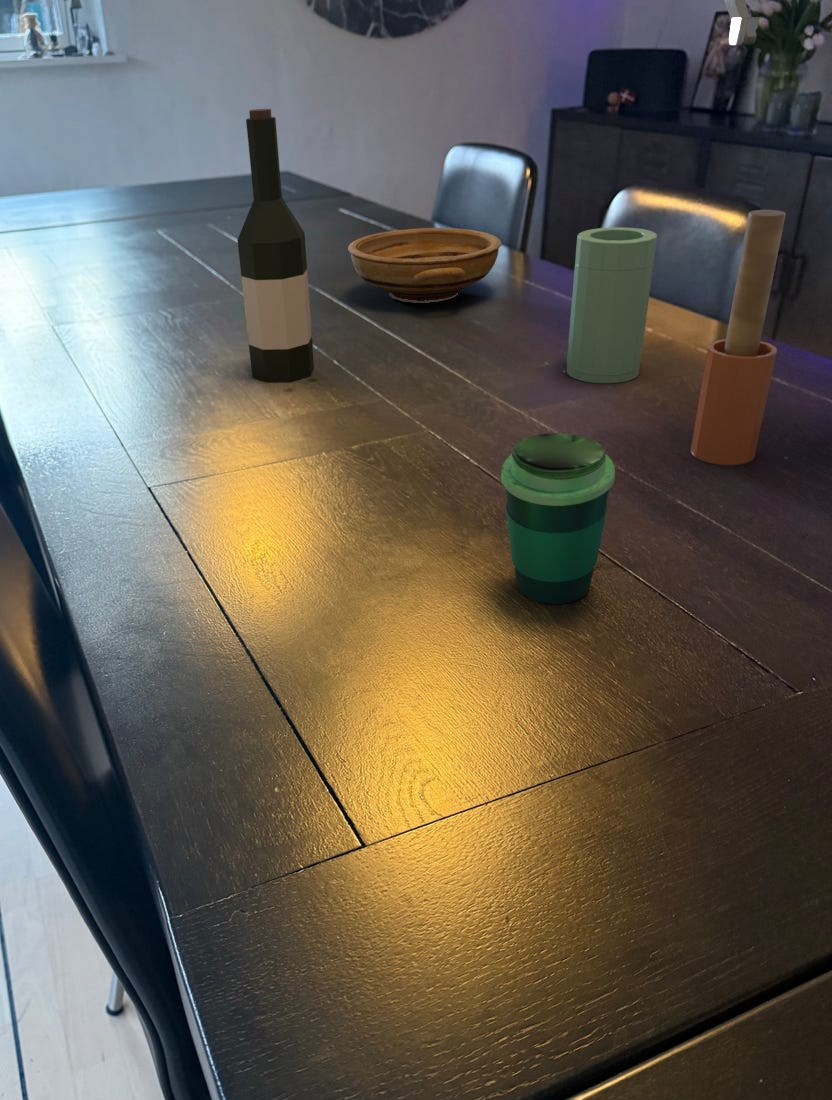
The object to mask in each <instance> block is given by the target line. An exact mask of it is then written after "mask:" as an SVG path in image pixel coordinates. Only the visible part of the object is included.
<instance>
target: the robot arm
mask: <svg viewBox="0 0 832 1100" xmlns="http://www.w3.org/2000/svg"><path fill="white" fill-rule="evenodd" d="M723 1H724V3H725V7H726V10H727V12H728V16H729V18H730V19H731V21H730V27H729V28H730V29H729V35H728V44H729V46H748V45H754V44H755V42H756V39H757V34H758V33H757V32H756V31H757V29H758V28H759V23H760V16H750V14H749V10H748V7H747V3H746V0H723Z"/></svg>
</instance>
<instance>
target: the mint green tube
mask: <svg viewBox="0 0 832 1100" xmlns="http://www.w3.org/2000/svg"><path fill="white" fill-rule="evenodd" d="M576 236H577V237H576V247H575V248H576V249H575V259H574V260H575V261H574V270H573V271H574V273H573V284H572V293H571V294H572V295H571V306H570V307H571V308H570V317H569V331H568V342H567V345H568V346H567V355H566V374H567V375H568V376H569V377H571V378H573V379H574V380H577V381H581V382H585V383H592V384H619V383H625V382H629V381H632V380H634V379H636V378H637V377H638V376H639V374H640V368H641V363H642V356H643V349H644V348H643V347H644V340H645V331H646V324H647V317H648V310H649V302H650V292H651V286H652V277H653V270H654V264H655V263H654V261H655V254H656V247H657V241H658V240H657V239H658V234H657V233H656V232H654V231H653V230H649V229H644V228H637V227H617V226H616V227H614V226H613V227H599V228H598V227H597V228H592V229H587V230H583V231H580V232H579V233H578V235H576Z"/></svg>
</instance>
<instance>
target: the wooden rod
mask: <svg viewBox="0 0 832 1100" xmlns="http://www.w3.org/2000/svg"><path fill="white" fill-rule="evenodd" d="M786 215H787V214H786V212H785V211H783V210H779V209H755V210H751V211H749V212H748V216H747V221H746V225H745V230H744V236H743V243H742V247H741V253H740V258H739V264H738V270H737V274H736V282H735V287H734V291H733V298H732V303H731V310H730V314H729V320H728V327H727V331H726V337H725V339H726V342H725V348H724V354H728V355H734V356H757V355H758V350H759V345H760V341H762V340H761V339H762V335H763V330H764V326H765V325H764V324H765V320H766V314H767V311H768V304H769V300H770V295H771V289H772V285H773V280H774V274H775V270H776V265H777V260H778V256H779V255H778V254H779V249H780V245H781V240H782V235H783V230H784V225H785V220H786Z"/></svg>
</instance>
